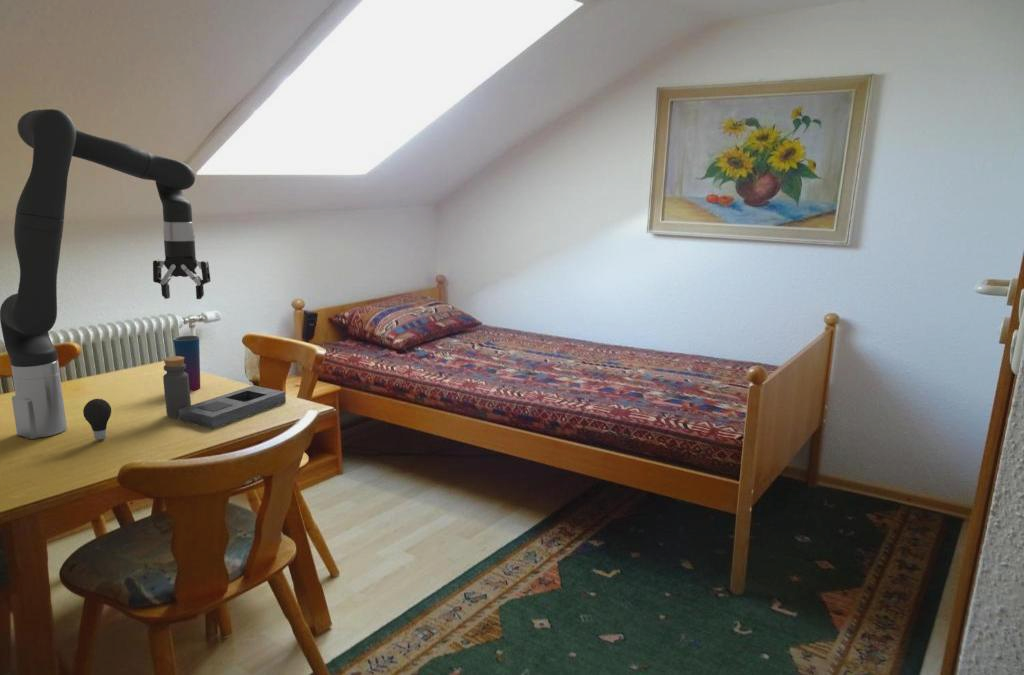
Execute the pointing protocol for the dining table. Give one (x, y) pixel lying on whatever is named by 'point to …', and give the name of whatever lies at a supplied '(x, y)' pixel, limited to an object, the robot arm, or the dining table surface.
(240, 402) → the panel
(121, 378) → the dining table surface
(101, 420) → the light bulb
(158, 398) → the dining table surface
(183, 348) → the cup
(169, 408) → the bottle
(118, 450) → the dining table surface
